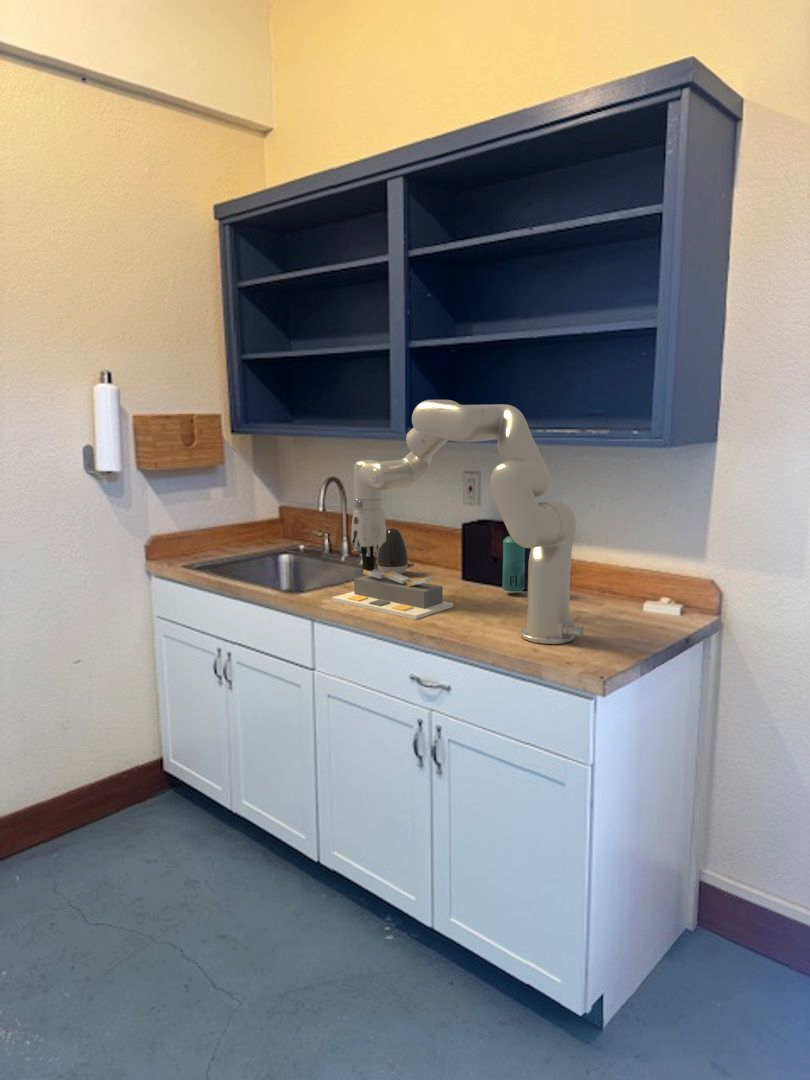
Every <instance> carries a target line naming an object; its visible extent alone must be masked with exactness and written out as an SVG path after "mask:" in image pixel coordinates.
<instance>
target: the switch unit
mask: <svg viewBox="0 0 810 1080" xmlns="http://www.w3.org/2000/svg"><path fill="white" fill-rule="evenodd" d="M412 581H413V580H410V582H412ZM353 583H354V589H353V590H354V591H351V592H350V591H349V592H347V593H343V594H339V595H335V596H332V597H331V602H336V603H339V604H344V605H348V606H349V605H350V606H354V607H358V608H363V609H366V610H372V611H375V612H380V613H385V614H390V615H392V616H393V615H394V616H398V617H403V618H407V619H412V620H418V619H421V618H424V617H427V616H429V615H430V616H431V615H433V614H436V613H439V612H442V611H445V610H448V609H451V608H453V607H454V602H448V601H445V600H443V597H444V596H443V595H444V594H443V591H444V590H443V586H441V585H437V584H431V583H427V582H426V583H421V584H417V585H412V586H408V585H407V583H408V582H407V583H403V584H401V583H399V582H396V581H394V580H392V579H389V578H382V579H379V578H376V577H373V576H369V575H364V576H360V577H356V578H355V577H354V581H353Z"/></svg>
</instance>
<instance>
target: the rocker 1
mask: <svg viewBox="0 0 810 1080" xmlns="http://www.w3.org/2000/svg"><path fill="white" fill-rule="evenodd" d="M362 573H363V575H365V576H367V575H369V576H373V577H376V578H379V579H382V578H386V577H385V572H382V571H380V570H379V569H375V568H374V570H365V569H363V572H362Z"/></svg>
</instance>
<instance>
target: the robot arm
mask: <svg viewBox="0 0 810 1080" xmlns="http://www.w3.org/2000/svg"><path fill="white" fill-rule="evenodd" d="M411 424H412V426H413V428H412V429H410V430H409V431H408V432H407V434H406V436H405V437H406V438H405V440H406V442H405V443H406V444H407V445H406V446H407V447H408V449H409V450H410V452H409V453H408V454H406V456H405V457H403V458H402V459H399V460H397V459H395V460H387V461H378V460H373V459H361V460H357V461H355V463H354V467H353V470H354V471H353V477H354V479H353V482H354V486H353V487H354V488H353V489H354V491H353V492H354V493H353V494H354V495H353V496H354V502H353V507H354V510H353V514H352V518H351V519H352V521H351V530H350V531H351V533H350V534H351V544H352V545H353V551H354V552H359V553H360V556H361V558H362V559H361V561H362V562H361V566H362V567H361V568H362V570H374V569H375V556H377V552H378V548H379V547H381V546H382V544H383V543H385V542H386V530H387V526H386V525H387V524H386V516H385V512H384V509H383V507H382V496H383V495H382V490H383V491H385V490H392V489H400V488H407V487H409V486H411V485H413V484H414V483H415V482H417V481H418V480H419V479H420V478H421V477H422V476H423V475H424V474H425V473H426V472H427V471H428V470H429V467H430V465H431V463H432V459H433V456H434V455H435V453H437V451H438V450H440V448H442V447H443V446H444V445H445V444H446V443H447V442H448V441H453V442H458V443H459V442H460V443H470V442H484V441H493V440H497V450H498V454H499V457H500V458H501V460H502V462H500V463H498V464H497V465H496V466H495V467H494V469H493V471H492V472H491V474H490V480H489V481H490V482H489V483H490V484H489V485H490V487H489V488H490V492H491V493H490V494H491V495H492V498H493V500H494V503H495V504H496V508H497V509H498V512H499V515H500V516H501V519H502V521H503V523H504V525H505V528H506V531H507V530H508V532H509V533H508V534H509V536H511V537H512V539H513V540H514V541H515V542H516V543H517V544H518V545H520V546H521V547H524V548H525V549H530V551H529V555H528V557H529V558H528V565H527V566H528V570H527V574H528V575H527V605H526V609H527V610H526V626H523V627H522V628H521V629H520V630H519V635H520V637H521V638H522V639H524V640H526V641H528V642H532V643H536V644H542V645H544V644H546V645H555V644H556V645H557V644H558V645H560V644H567V643H570V642H572V641H574V640H575V638H576V637H577V638H583V636H584V626H579V625H575V624H574V618H572V617H570V596H571V595H570V594H571V593H570V591H571V567H572V553H573V552H572V551H573V546H574V545H573V544H574V540H575V535H576V530H577V521H576V520H577V519H576V515H575V513H574V511H573V509H572V508H571V507H570V506H569V505H568V504H566V503H565V502H563V501H558V500H547V501H542V502H537V500H538V499H540V498H543V497H544V496H546V495H547V494H548V493H549V492H550V491H551V489H552V486H553V485H552V483H553V482H552V481H553V480H552V476H551V474H550V471H549V469H548V467H547V465H546V463H545V459H544V458H543V456H542V454H541V452H540V450H539V449H540V448H539V447H538V446H537V443H536V442H535V439H534V438H533V435H532V432H531V430H530V427H529V424H528V422H527V420H526V417H525V416H524V413H522V412H521V411H520V409H518V408H517V407H515V406H513V405H511V404H503V403H502V404H501V403H500V404H499V403H498V404H460V403H458V402H456V401H454V400H450V399H425V400H424V401H421V402H420V403H418V404H417V405H416V406H415V408H414V410H413V412H412V415H411Z"/></svg>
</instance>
